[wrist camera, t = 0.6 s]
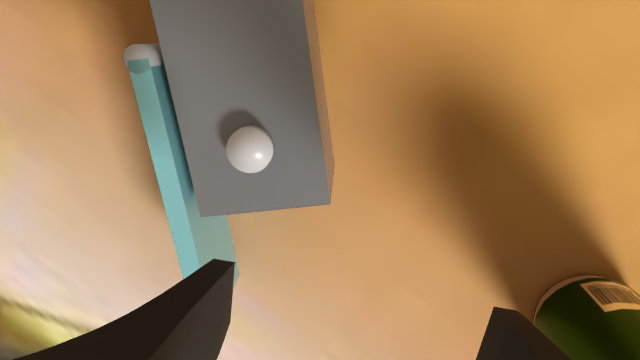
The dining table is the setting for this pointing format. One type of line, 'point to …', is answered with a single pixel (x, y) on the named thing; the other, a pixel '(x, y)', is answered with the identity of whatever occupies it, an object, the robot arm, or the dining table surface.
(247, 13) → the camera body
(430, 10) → the dining table surface
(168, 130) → the side door
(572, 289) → the beer can
